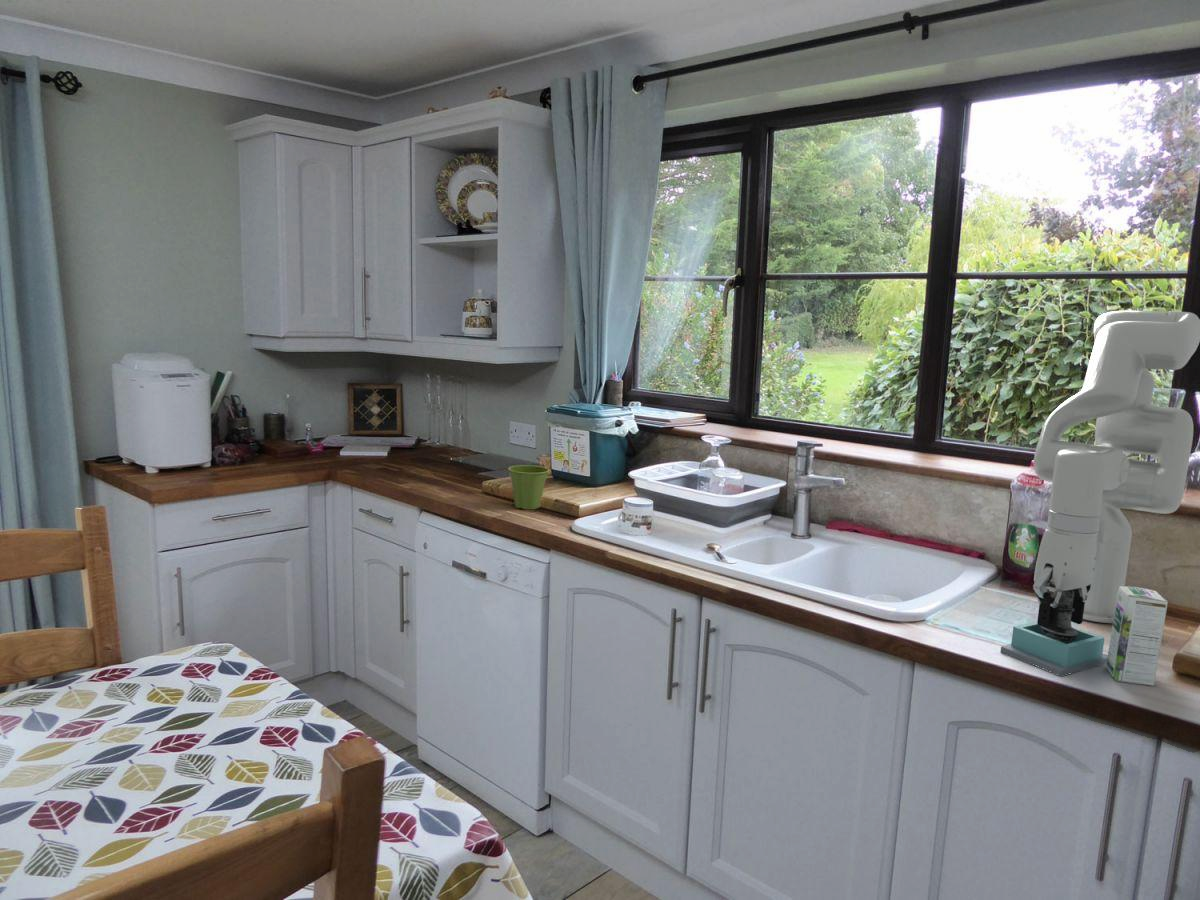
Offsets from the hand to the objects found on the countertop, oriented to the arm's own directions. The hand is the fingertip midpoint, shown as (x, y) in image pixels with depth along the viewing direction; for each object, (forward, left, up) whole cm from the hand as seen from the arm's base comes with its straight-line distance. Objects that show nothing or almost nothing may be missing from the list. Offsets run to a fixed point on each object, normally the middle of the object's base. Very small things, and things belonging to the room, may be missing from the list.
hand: (1059, 623), depth 144 cm
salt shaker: (0, 0, -5) cm, 5 cm away
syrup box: (-4, +11, -6) cm, 13 cm away
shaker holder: (0, 0, -6) cm, 6 cm away
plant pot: (+40, -134, -6) cm, 140 cm away
